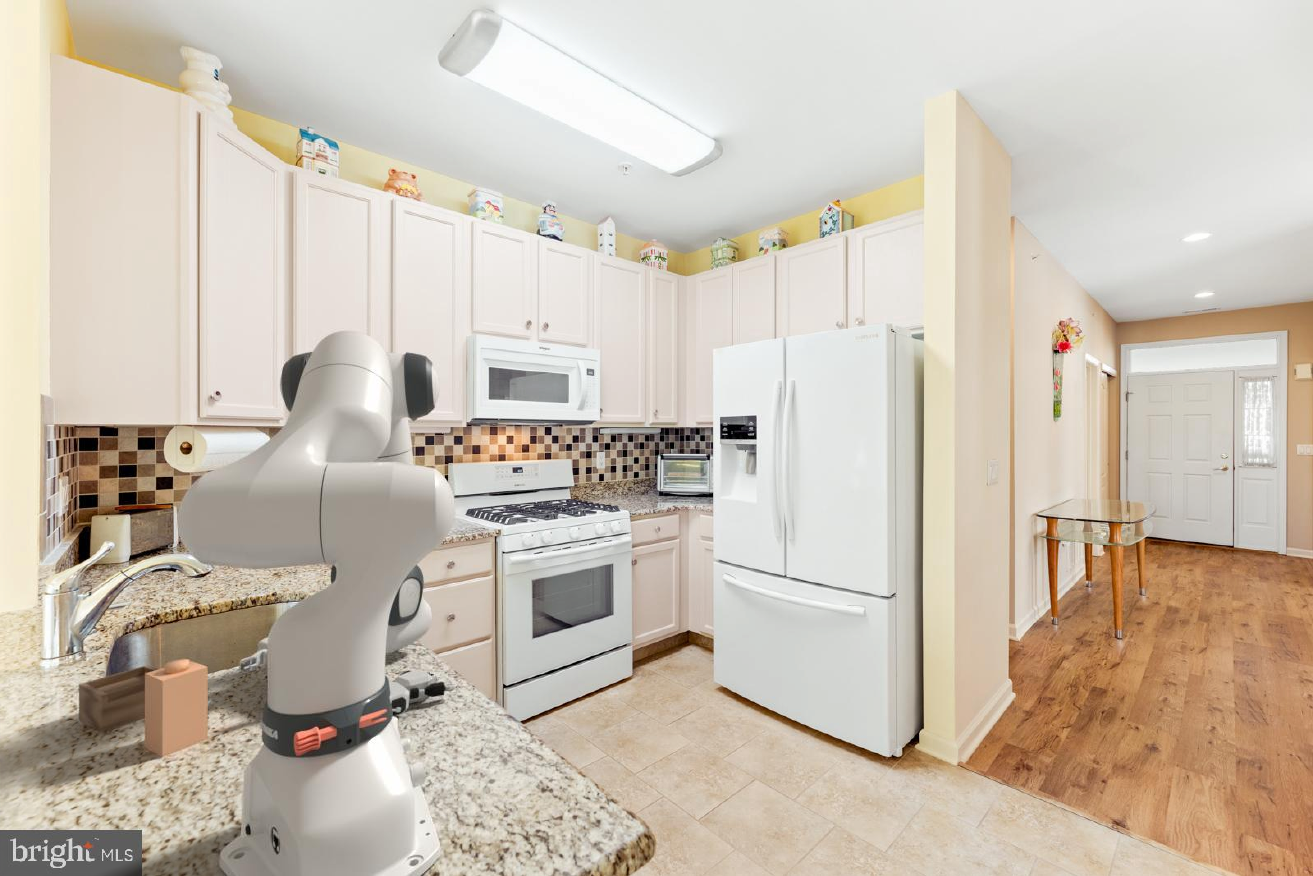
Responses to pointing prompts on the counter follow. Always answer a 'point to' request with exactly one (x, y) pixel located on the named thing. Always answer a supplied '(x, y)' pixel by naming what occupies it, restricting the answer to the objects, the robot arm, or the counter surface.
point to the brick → (176, 707)
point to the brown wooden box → (114, 699)
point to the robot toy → (415, 689)
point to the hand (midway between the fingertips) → (258, 672)
